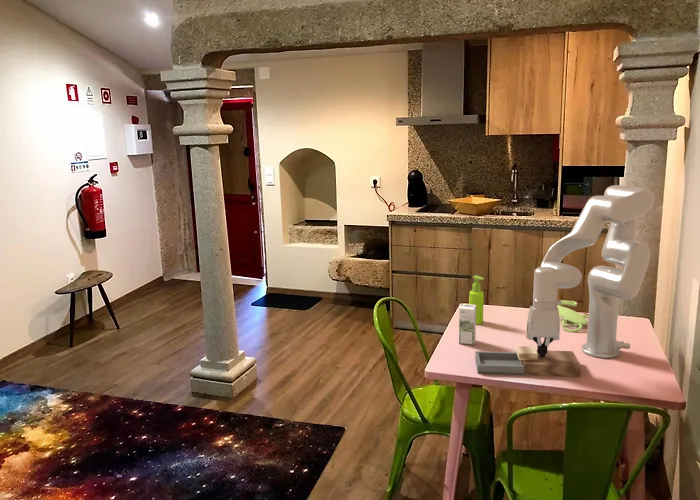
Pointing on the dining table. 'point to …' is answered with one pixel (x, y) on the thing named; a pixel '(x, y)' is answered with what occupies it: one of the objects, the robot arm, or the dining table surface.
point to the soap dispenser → (477, 299)
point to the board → (553, 365)
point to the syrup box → (467, 324)
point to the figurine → (571, 316)
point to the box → (498, 363)
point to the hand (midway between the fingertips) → (541, 355)
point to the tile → (527, 353)
